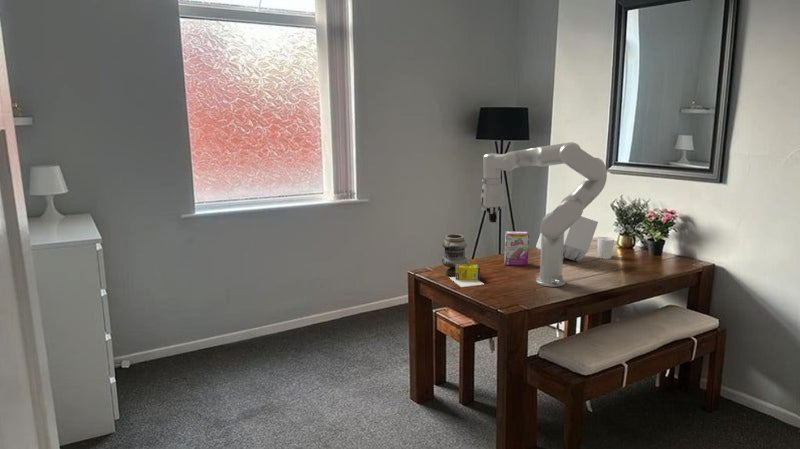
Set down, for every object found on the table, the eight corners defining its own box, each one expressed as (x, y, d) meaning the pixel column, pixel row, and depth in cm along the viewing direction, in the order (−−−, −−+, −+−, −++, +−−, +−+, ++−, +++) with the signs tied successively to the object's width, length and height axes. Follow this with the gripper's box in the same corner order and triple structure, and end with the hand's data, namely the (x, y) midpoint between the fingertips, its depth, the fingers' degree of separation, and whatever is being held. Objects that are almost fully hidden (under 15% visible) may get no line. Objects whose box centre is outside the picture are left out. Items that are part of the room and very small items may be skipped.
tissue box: (532, 252, 280) (547, 206, 278) (555, 259, 286) (570, 214, 284) (557, 262, 261) (574, 213, 259) (581, 269, 268) (598, 221, 266)
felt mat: (484, 284, 238) (484, 284, 238) (461, 287, 235) (461, 286, 235) (471, 275, 251) (471, 275, 251) (449, 278, 248) (449, 277, 248)
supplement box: (479, 267, 242) (455, 267, 243) (479, 280, 243) (455, 279, 245) (479, 263, 248) (455, 263, 249) (479, 276, 249) (455, 276, 250)
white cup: (593, 256, 281) (594, 237, 279) (604, 254, 284) (605, 236, 282) (604, 260, 274) (605, 241, 272) (616, 258, 277) (617, 239, 275)
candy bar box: (505, 265, 267) (506, 233, 263) (504, 262, 272) (505, 231, 268) (528, 265, 266) (529, 233, 262) (526, 263, 271) (527, 231, 267)
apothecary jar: (447, 277, 250) (447, 239, 246) (438, 270, 261) (438, 233, 258) (471, 274, 253) (471, 237, 249) (461, 267, 264) (461, 232, 261)
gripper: (481, 183, 234) (482, 225, 237) (511, 180, 238) (511, 221, 242) (473, 182, 241) (474, 222, 244) (502, 179, 245) (503, 218, 249)
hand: (492, 221), depth 243 cm, fingers closed
